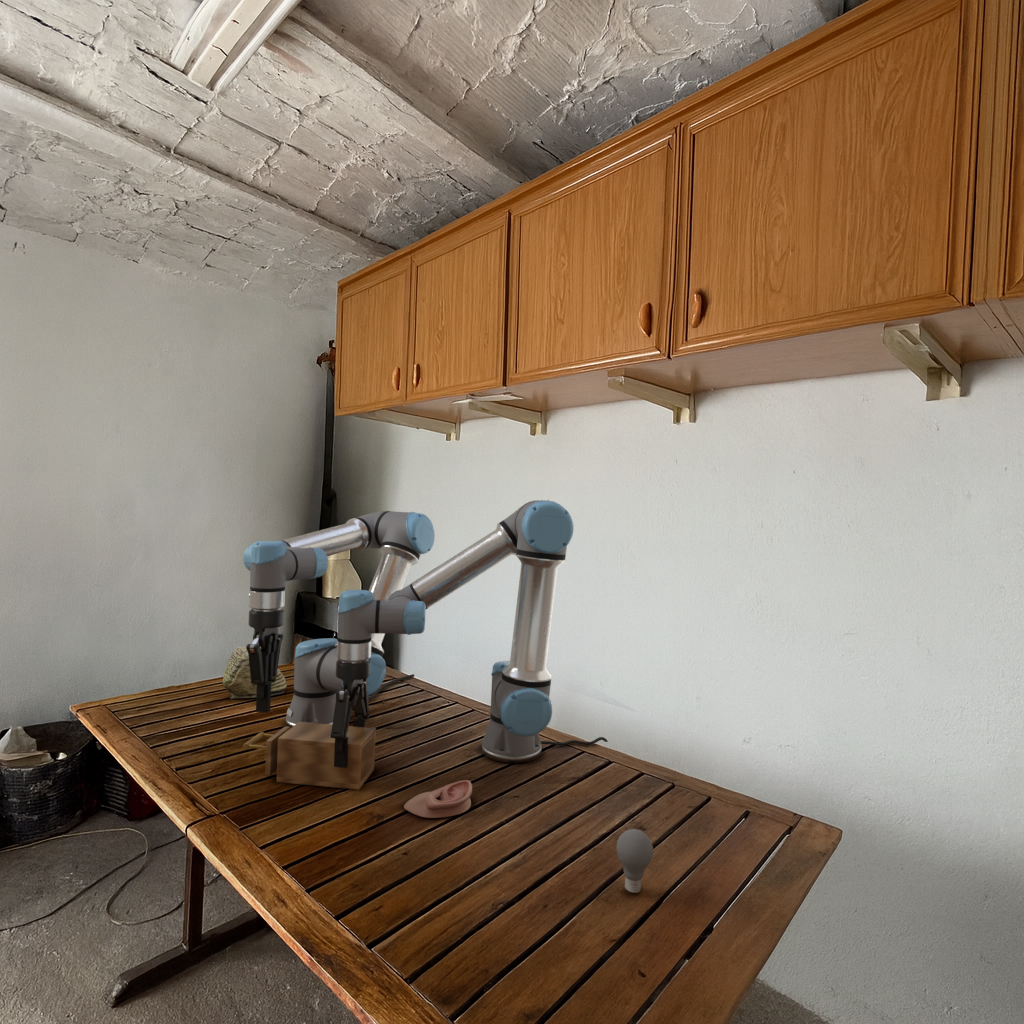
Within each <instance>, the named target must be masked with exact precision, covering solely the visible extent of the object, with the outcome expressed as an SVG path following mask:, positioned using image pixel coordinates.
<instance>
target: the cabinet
mask: <svg viewBox="0 0 1024 1024" xmlns="http://www.w3.org/2000/svg"><path fill="white" fill-rule="evenodd" d="M376 729H377V728H376V727H366V726H365V727H354V726H353V725H349V727H348V732H347V737H348V758H347V767H346V768H341V767H334V751H335V738H331V731H332V725H330V724H317V723H305V722H298V723H297V724H296V725H294V726H293V727H292V728H290V729H289V730H288V731H287V732H285V733H284V734H283V735H282V736H280V737H279V738H278V755H277V770H276V783H284V784H294V785H304V786H306V785H307V786H314V787H326V788H327V787H328V788H338V789H348V790H360V789H361V788H362V786H363V785H364V784H365V782H366V781H367V780H368V779H369V778H370V776H371V775H372V773H373V772H374V771H375V759H376V758H375V757H376V735H377V734H376V733H377V731H376Z"/></svg>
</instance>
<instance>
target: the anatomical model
mask: <svg viewBox="0 0 1024 1024" xmlns="http://www.w3.org/2000/svg"><path fill="white" fill-rule="evenodd" d="M472 793H473V785H472V782H471V781H470V780H468V779H466V780H464V779H463V780H458V781H455V782H453V783H449V784H446V785H444V786H441V787H440V788H437V789H434V790H432V791H425V792H422V793H419V794H416V795H415V796H414V797H412V798H410V799H409V800H407V801H406V802H405V804H403V808H404V810H406V811H408V812H409V813H411V814H413V815H415V816H418V817H421V818H424V819H437V818H447V817H452V816H457V815H460V814H462V813H465V812H467V811H468V810H469V809H470V808H471V806H472V801H471V798H470V797H471V796H472Z"/></svg>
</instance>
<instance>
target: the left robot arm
mask: <svg viewBox="0 0 1024 1024" xmlns="http://www.w3.org/2000/svg"><path fill="white" fill-rule="evenodd" d="M435 535H436V534H435V529H434V525H433V523H432V520H431V519H430V518H429V517H428V515H426V514H425V513H420V512H414V511H410V512H408V511H392V510H381V511H380V510H379V511H375V512H370V513H368V514H363V515H360V516H356V517H353V518H352V517H351V518H350V519H348V520H347V521H346V522H345V523H343V524H339V525H335V526H331V527H328V528H323V529H320V530H316V531H312V532H308V533H305V534H300V535H296V536H293V537H289V538H286V539H282V540H259V541H257V540H256V541H255V542H254V543H252V544H250V545H248V547H247V548H246V549H245V550H244V552H243V558H242V559H243V565H244V567H245V568H246V569H247V570H248V571H249V572H250V573H249V578H250V579H249V594H248V597H249V604H248V605H249V608H250V610H249V611H248V626H249V627H250V628H252V629H253V630H254V631H253V635H252V642H251V643H248V644H246V649H247V651H248V654H249V665H250V675H251V683H252V684H257V693H256V697H255V698H256V699H255V713H264V714H265V713H266V714H268V713H270V712H271V703H272V702H271V699H272V696H271V682H275V681H276V678H273V677H276V675H277V669H279V661H280V654H281V646H282V642H283V639H284V634H283V633H279V628H280V627H282V626H283V625H284V623H285V610H284V609H283V608H284V607H285V605H286V604H285V603H286V601H285V599H286V582H289V581H297V580H299V581H300V580H313V579H316V578H320V577H322V576H324V575H325V574H326V572H327V571H328V568H329V557H330V556H334V555H337V554H341V553H344V552H346V551H350V550H355V551H361V550H365V549H379V551H380V553H381V555H382V556H381V559H380V561H379V564H378V566H377V569H376V571H375V574H374V576H373V579H372V582H371V584H370V586H369V589H368V591H371V592H372V593H373V597H374V600H387V599H388V598H389V597H390V595H391V594H393V593H394V592H396V591H398V590H402V589H403V588H404V585H405V582H406V579H407V577H408V574H409V572H410V569H411V567H412V566H414V565H416V564H418V563H419V560H420V558H421V555H425V554H427V553H429V552H430V551H431V550H432V548H433V546H434V543H435V539H436V538H435ZM385 635H386V634H382V633H379V634H375V633H372V635H371V657H370V658H369V660H370V675H369V677H368V680H367V688H368V701H369V702H370V701H371V700H372V699H374V698H376V695H378V694H379V693H381V691H382V690H384V689H385V688H386V687H389V686H390V685H392V684H395V683H398V682H401V681H403V680H407V679H412V678H414V677H415V673H412V674H409V675H405V676H402V677H398V678H395V679H393V680H392V679H391V680H390V681H388V682H386V683H384V684H383V682H384V680H385V678H386V674H387V668H386V667H387V663H386V661H385V659H384V658H383V656H384V655H385V650H384V648H383V647H382V643H383V641H384V638H385ZM336 643H337V638H335V637H333V638H332V637H329V638H315V639H314V638H313V639H308V640H304V641H302V642H299V643H298V644H297V645H296V646H295V652H294V653H295V654H294V657H293V659H294V660H293V662H294V663H293V665H294V667H293V695H292V696H293V697H292V699H291V702H290V704H289V707H288V708H287V710H286V715H285V726H288V727H290V728H292V727H293V726H294V725H296V724H297V723H298V722H305V723H317V724H330V725H332V724H333V717H334V710H335V704H336V691H337V690H341V687H342V685H343V680H341V679H339V678H337V677H336V662H337V660H338V658H337V647H335V645H336ZM382 684H383V685H382Z"/></svg>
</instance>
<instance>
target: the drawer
mask: <svg viewBox="0 0 1024 1024" xmlns="http://www.w3.org/2000/svg"><path fill="white" fill-rule="evenodd" d="M289 729H290V727H288V726H286V725H285V726H283V727H282V728H281V729H279V730H278V731H277V732H276V733H274V734H273V733H265V732H264V731H260V732H259V733H257V734H256V735H254V736H253V737H252V738H250V739H249V740H248V741H246V742H245V743H244V744H242V749H244V750H249V749H256V750H265V767H264V769H265V770H264V775H265V776H271V775H272V774H273V773H275V772H277V755H278V738H279V737H280V736H282V735H283V734H284V733H285V732H287V731H288V730H289ZM263 738H268V739H267V740H265V745H262V744H256V743H258V742H259V741H260V740H261V739H263Z"/></svg>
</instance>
